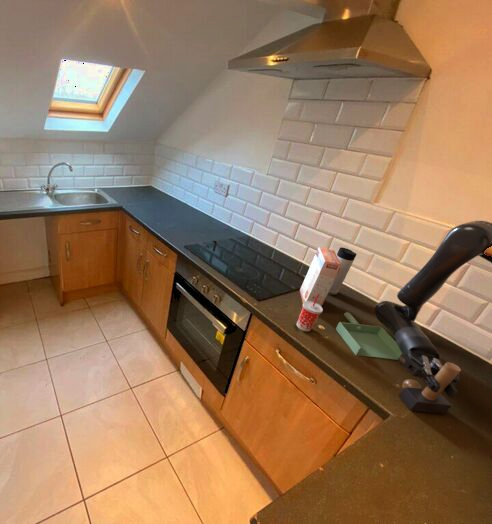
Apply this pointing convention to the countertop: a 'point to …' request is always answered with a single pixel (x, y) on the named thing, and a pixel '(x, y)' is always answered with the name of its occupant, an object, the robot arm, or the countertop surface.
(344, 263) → the travel mug
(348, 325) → the dustpan
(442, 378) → the brush
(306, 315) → the beverage cup
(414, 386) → the cork ball
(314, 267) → the cracker box
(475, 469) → the countertop surface
